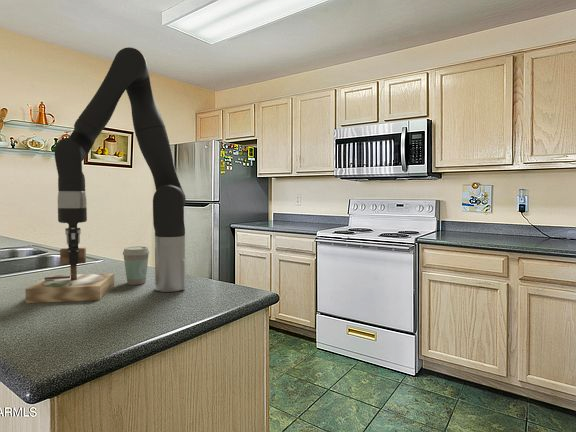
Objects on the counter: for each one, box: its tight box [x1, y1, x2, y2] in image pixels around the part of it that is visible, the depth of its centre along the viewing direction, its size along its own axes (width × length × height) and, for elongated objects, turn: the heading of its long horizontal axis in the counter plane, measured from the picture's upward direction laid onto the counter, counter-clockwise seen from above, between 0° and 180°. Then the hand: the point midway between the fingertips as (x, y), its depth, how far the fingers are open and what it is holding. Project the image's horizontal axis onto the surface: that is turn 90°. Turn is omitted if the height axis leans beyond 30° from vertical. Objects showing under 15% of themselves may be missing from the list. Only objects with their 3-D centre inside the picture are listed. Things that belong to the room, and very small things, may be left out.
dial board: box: [25, 273, 115, 304], centre depth 114 cm, size 19×17×4 cm
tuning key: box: [43, 247, 87, 280], centre depth 112 cm, size 11×2×9 cm, turn 110°
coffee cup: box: [122, 246, 150, 286], centre depth 127 cm, size 8×8×12 cm
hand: (73, 263), depth 113 cm, fingers closed on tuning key, 3 cm apart
